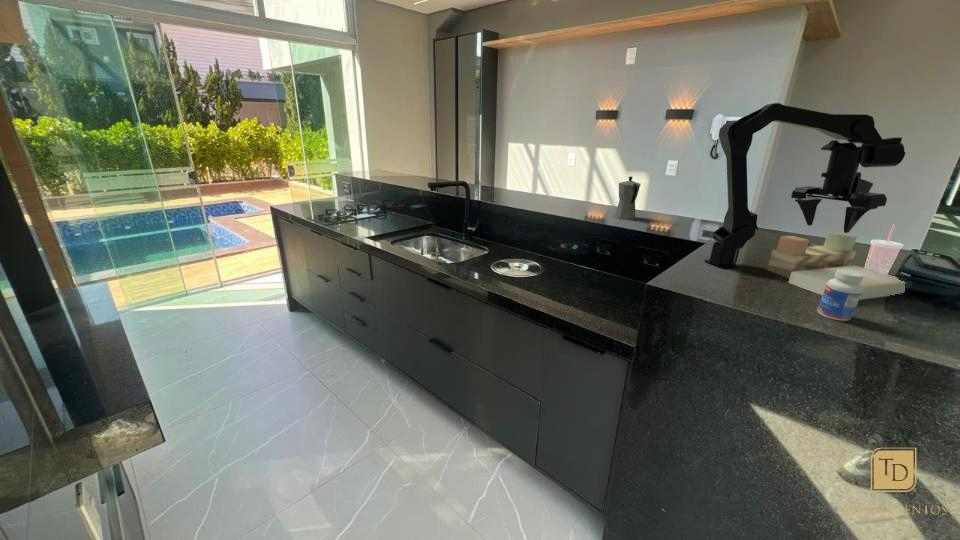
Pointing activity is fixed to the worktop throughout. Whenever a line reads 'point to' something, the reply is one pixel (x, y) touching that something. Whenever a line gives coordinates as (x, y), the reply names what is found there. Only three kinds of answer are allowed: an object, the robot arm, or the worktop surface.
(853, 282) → the pill bottle
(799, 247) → the salmon pink cube
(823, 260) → the brown long block
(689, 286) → the worktop surface
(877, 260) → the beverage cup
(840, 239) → the pale green cube
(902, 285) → the dock
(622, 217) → the coffeepot
